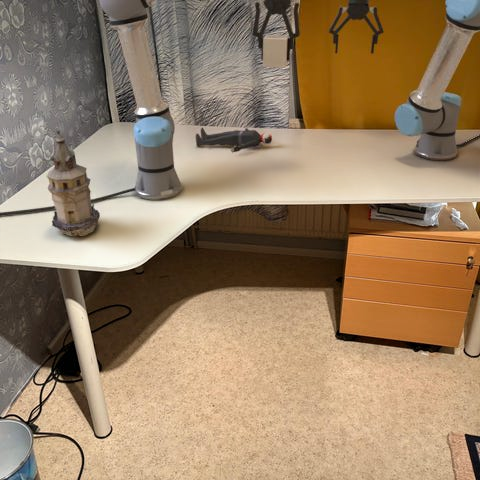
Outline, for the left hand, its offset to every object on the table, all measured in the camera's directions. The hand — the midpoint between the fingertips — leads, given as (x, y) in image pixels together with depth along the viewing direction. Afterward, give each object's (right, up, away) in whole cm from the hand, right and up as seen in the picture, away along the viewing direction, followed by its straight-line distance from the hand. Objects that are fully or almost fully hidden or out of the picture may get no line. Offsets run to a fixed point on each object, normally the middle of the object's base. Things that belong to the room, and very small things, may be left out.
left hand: (275, 59), depth 173 cm
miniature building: (-58, -55, -18) cm, 82 cm away
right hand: (+33, +14, +33) cm, 49 cm away
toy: (-13, -20, +43) cm, 49 cm away
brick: (0, -1, +1) cm, 2 cm away
